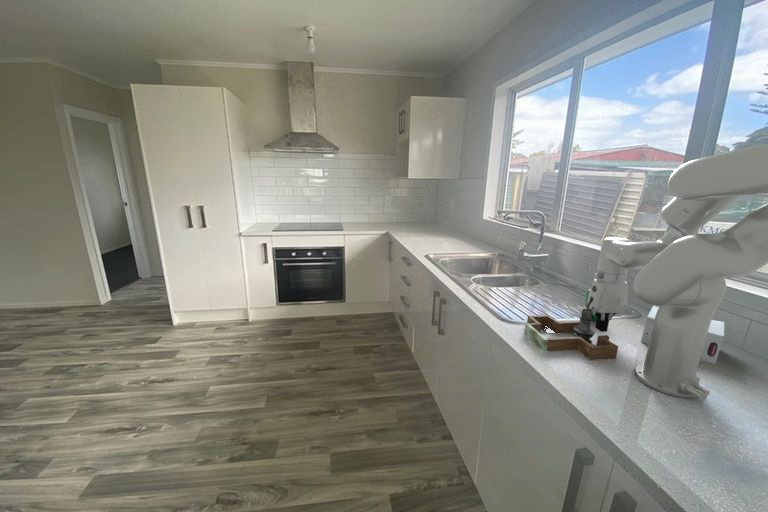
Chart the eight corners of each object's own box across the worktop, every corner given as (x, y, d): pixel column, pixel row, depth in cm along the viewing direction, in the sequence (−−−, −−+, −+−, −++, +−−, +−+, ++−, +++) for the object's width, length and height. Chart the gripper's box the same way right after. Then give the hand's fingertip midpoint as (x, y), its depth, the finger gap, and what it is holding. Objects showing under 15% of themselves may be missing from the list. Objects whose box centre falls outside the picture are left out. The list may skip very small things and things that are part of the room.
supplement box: (640, 342, 98) (646, 316, 96) (647, 329, 106) (652, 304, 104) (716, 365, 86) (725, 335, 83) (717, 348, 94) (725, 321, 92)
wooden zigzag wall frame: (622, 358, 89) (624, 346, 88) (554, 362, 87) (556, 349, 86) (571, 324, 110) (572, 314, 109) (516, 326, 108) (517, 316, 107)
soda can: (601, 322, 111) (607, 291, 108) (588, 322, 112) (593, 291, 109) (592, 316, 116) (598, 287, 113) (579, 316, 116) (584, 287, 114)
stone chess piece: (595, 346, 96) (602, 311, 93) (574, 342, 97) (580, 308, 95) (590, 337, 101) (596, 303, 98) (570, 334, 103) (575, 301, 100)
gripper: (597, 281, 90) (587, 336, 95) (643, 279, 91) (632, 334, 96) (579, 273, 98) (571, 325, 102) (623, 272, 99) (612, 323, 103)
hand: (600, 329), depth 99 cm, fingers closed
